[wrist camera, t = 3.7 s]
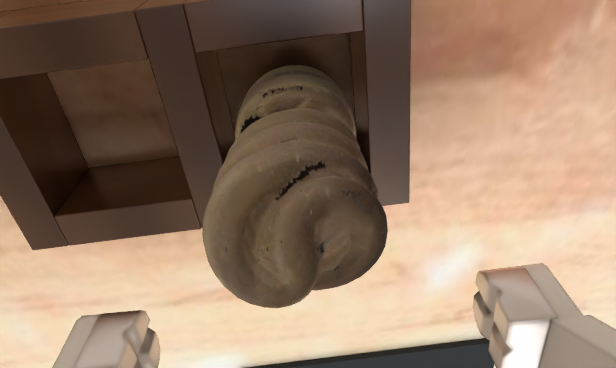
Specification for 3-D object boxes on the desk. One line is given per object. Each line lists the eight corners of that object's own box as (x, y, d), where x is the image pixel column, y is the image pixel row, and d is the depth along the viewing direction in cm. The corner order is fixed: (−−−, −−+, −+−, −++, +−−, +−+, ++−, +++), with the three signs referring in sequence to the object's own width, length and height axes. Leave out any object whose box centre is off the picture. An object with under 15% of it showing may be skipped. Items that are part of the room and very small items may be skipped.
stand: (69, 198, 28) (32, 250, 24) (-21, 14, 22) (-93, 40, 18) (389, 157, 28) (409, 202, 24) (385, -41, 22) (411, -28, 18)
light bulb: (249, 135, 26) (222, 347, 14) (227, 42, 23) (166, 204, 11) (343, 120, 26) (403, 320, 14) (332, 25, 23) (397, 168, 11)
